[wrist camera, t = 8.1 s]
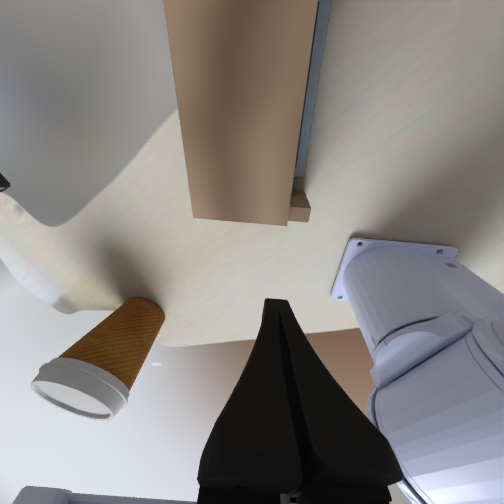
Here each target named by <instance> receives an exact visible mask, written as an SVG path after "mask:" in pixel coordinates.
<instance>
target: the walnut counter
mask: <svg viewBox="0 0 504 504" xmlns="http://www.w3.org/2000/svg"><path fill="white" fill-rule="evenodd" d="M163 2H164V9H165V15H166V23H167V30H168V38H169V45H170V52H171V60H172V67H173V74H174V81H175V89H176V95H177V102H178V110H179V118H180V125H181V132H182V139H183V146H184V154H185V161H186V168H187V175H188V183H189V190H190V197H191V204H192V212H193V218H200V219H211V220H223V221H234V222H246V223H258V224H269V225H281V226H287V221H299V222H308V221H309V216H310V211H311V207H310V204H309V202H308V199H307V197H306V194H305V192H304V191H298V190H292V185H293V178H294V171H295V163H296V156H297V149H298V142H299V135H300V127H301V120H302V113H303V106H304V98H305V91H306V84H307V77H308V69H309V62H310V55H311V48H312V40H313V33H314V26H315V19H316V12H317V4H318V0H163Z"/></svg>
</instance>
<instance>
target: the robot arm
mask: <svg viewBox="0 0 504 504" xmlns="http://www.w3.org/2000/svg"><path fill="white" fill-rule="evenodd" d="M359 242H362V243H361V244H360V245H357V244H358V243H359ZM438 250H440V251H438ZM437 251H438V252H437ZM457 253H458V249H457V248H455V247H453V246H443V245H432V244H420V243H409V242H398V241H387V240H376V239H365V238H351V239H350V240H349V241H348V244H347V247H346V250H345V253H344V256H343V259H342V262H341V265H340V268H339V271H338V274H337V276H336V279H335V282H334V285H333V288H332V291H331V295H330V296H331V298H332V299H334V300H341V301H349V302H350V304H351V307H352V309H353V312H354V314H355V317H356V319H357V322H358V324H359V327H360V329H361V331H362V334H363V336H364V339H365V341H366V344H367V346H368V349H369V351H370V354H371V356H372V359H373V361H374V367H373V368H372V369H371V370H370V374H371V376H372V379H373V382H374V385H375V387H376V389H374V390H373V391H372V392H371V393H370V395H369V397H368V400H367V406H366V409H367V417H366V416H365V415H364V414H363V413H362V411H361V410H360V409H359V408H358V407H357V406H356V405H355V404H354V402H353V401H352V400H351V399H350V398H349V396H348V395H347V394H346V393H345V392H344V390H343V389H342V388H341V387H340V385H338V383H337V382H336V380H335V379H334V378H333V377H332V375H331V374H330V373H329V371H328V370H327V369H326V367H325V366H324V365H323V363H322V362H321V360H320V359H319V357H318V356H317V354H316V353H315V351H314V350H313V348H312V346H311V345H310V343H309V342H308V340H307V338H306V337H305V335H304V333H303V331H302V329H301V327H300V326H299V324H298V322H297V320H296V318H295V316H294V314H293V311H292V309H291V307H290V305H289V302H288V301H287V300H281V299H269V298H267V299H265V302H264V308H263V314H262V323H261V327H260V330H259V333H258V336H257V339H256V342H255V345H254V347H253V350H252V352H251V355H250V357H249V359H248V362H247V364H246V366H245V368H244V370H243V373H242V374H241V377H240V379H239V381H238V382H237V385H236V386H235V388H234V390H233V392H232V394H231V396H230V398H229V400H228V401H227V403H226V405H225V407H224V409H223V410H222V412H221V414H220V415H219V417H218V419H217V421H216V422H215V425H214V427H213V429H212V432H211V434H210V436H209V438H208V441H207V443H206V445H205V448H204V450H203V453H202V456H201V459H200V465H199V471H198V477H197V480H198V482H199V485H200V488H199V494H198V500H197V502H190V501H189V502H188V501H176V500H162V499H148V498H135V497H119V496H107V495H93V494H79V493H72V491H69V490H65V489H59V488H48V487H34V486H26V487H24V488H23V489H22V490H21V491H20V493H19V494H18V496H17V497H16V499H15V500H14V502H13V503H12V504H389V502H391V501H392V498H391V495H390V492H389V490H388V487H387V486H388V485H391V484H394V483H397V485H398V486H399V487H400V489H401V490H402V491H403V493H404V494H405V495H406V496H407V498H408V499H409V500H410V501H411V502H412V503H413V504H504V294H503V293H501V292H500V291H498V290H497V289H496V288H494V287H493V286H491V285H490V284H489V283H487V282H486V281H484V280H483V279H482V278H480V277H479V276H477V275H476V274H474V273H473V272H472V271H470V270H469V269H467V268H466V267H465V266H463V265H462V264H460V263H459V262H457V261H456V260H455V259H454V257H455V256H456V255H457ZM338 296H340V297H338Z"/></svg>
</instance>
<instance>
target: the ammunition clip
mask: <svg viewBox="0 0 504 504" xmlns="http://www.w3.org/2000/svg"><path fill="white" fill-rule="evenodd" d="M9 187H10V183H9V182H8V181H7V180H6V179H5V178H4V177H3V175H2V174H1V173H0V192H3V191H4V190H6V189H7V188H9Z"/></svg>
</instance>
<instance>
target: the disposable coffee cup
mask: <svg viewBox="0 0 504 504" xmlns="http://www.w3.org/2000/svg"><path fill="white" fill-rule="evenodd" d="M164 320H165V316H164V313H163V311H162V310H161V309H160V308H159V307H158V306H157V305H156V304H154V303H153V302H151V301H149V300H147V299H143V298H131V299H129V300H128V301H127V302H126V303H124V304H123V305H122V306H121V307H119V308H118V309H117V310H116V311H114V312H113V313H112V314H111V315H109V316H108V317H107V318H106V319H105V320H103V321H102V322H101V323H100V324H98V325H97V326H96V327H95V328H93V329H92V330H91V331H90V332H88V333H87V334H86V335H85V336H83V337H82V338H81V339H80V340H79V341H77V342H76V343H75V344H74V345H72V346H71V347H70V348H69V349H68V350H66V351H65V352H64V353H63V354H61V355H60V356H59V357H58V358H55V359H53V360H51V362H49V363H46V364H44V365H42V366H41V367H40V369H39V374H38V375H37V376H36V377H35V379H34V380H33V381H32V383H31V388H32V390H33V391H34V392H35V393H36V394H37V395H38V396H40V397H41V398H42V399H44V400H46V401H47V402H49V403H51V404H53V405H55V406H56V407H59V408H61V409H63V410H65V411H68V412H70V413H73V414H76V415H79V416H82V417H86V418H89V419H94V420H103V421H105V420H111V419H112V418H114V416H115V415H116V414H117V413H118V412H119V410H120V409H121V408H123V407H125V406H126V404H127V401H128V397H129V391H130V389H131V387H132V385H133V383H134V381H135V379H136V377H137V375H138V373H139V371H140V369H141V367H142V365H143V363H144V361H145V359H146V357H147V354H148V353H149V351H150V349H151V346H152V344H153V342H154V340H155V338H156V336H157V334H158V332H159V330H160V328H161V326H162V324H163V322H164Z"/></svg>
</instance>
